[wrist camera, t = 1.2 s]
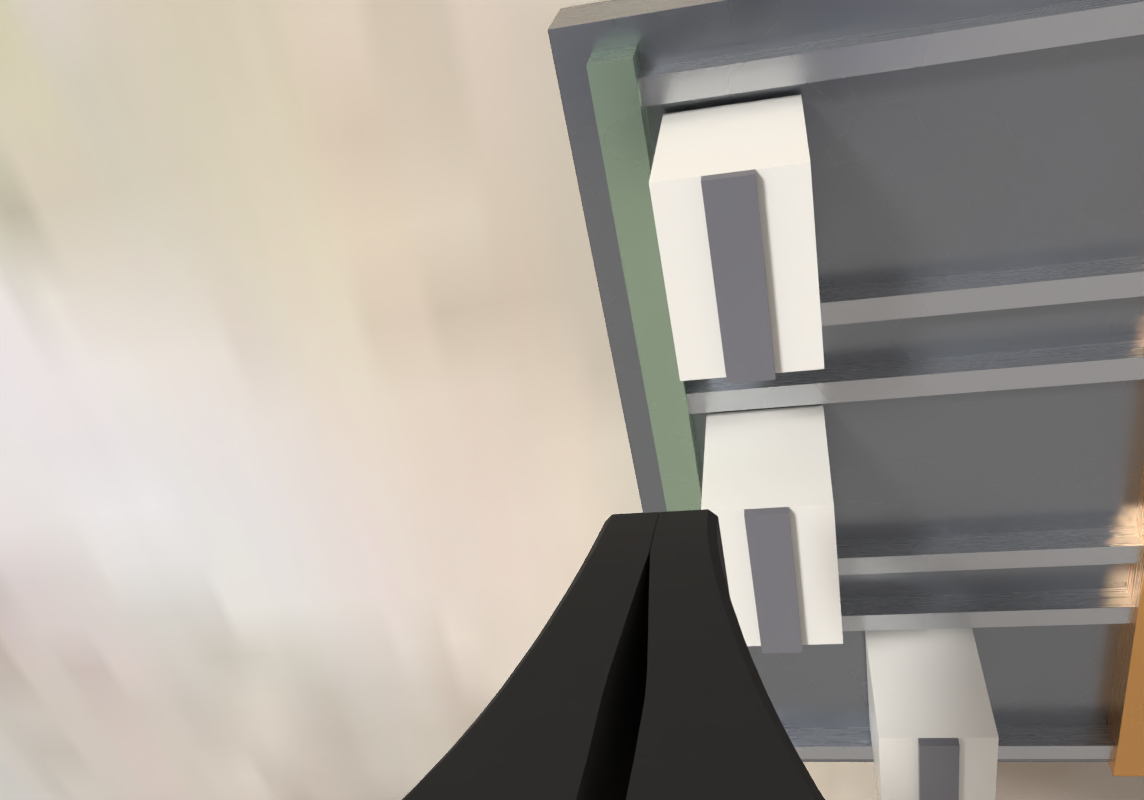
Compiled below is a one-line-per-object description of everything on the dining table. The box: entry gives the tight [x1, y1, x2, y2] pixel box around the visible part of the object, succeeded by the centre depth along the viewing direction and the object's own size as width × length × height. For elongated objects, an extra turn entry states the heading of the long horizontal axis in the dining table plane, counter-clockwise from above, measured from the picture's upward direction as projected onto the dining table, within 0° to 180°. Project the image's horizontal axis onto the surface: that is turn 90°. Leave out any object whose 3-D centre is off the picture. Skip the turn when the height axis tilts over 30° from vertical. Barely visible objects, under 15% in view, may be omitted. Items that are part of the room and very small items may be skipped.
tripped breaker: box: [865, 628, 999, 800], centre depth 24 cm, size 2×4×3 cm, turn 11°
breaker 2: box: [701, 405, 843, 653], centre depth 21 cm, size 2×4×3 cm, turn 11°
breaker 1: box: [649, 94, 824, 384], centre depth 17 cm, size 2×4×3 cm, turn 11°
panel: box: [548, 0, 1144, 776], centre depth 22 cm, size 14×20×2 cm
